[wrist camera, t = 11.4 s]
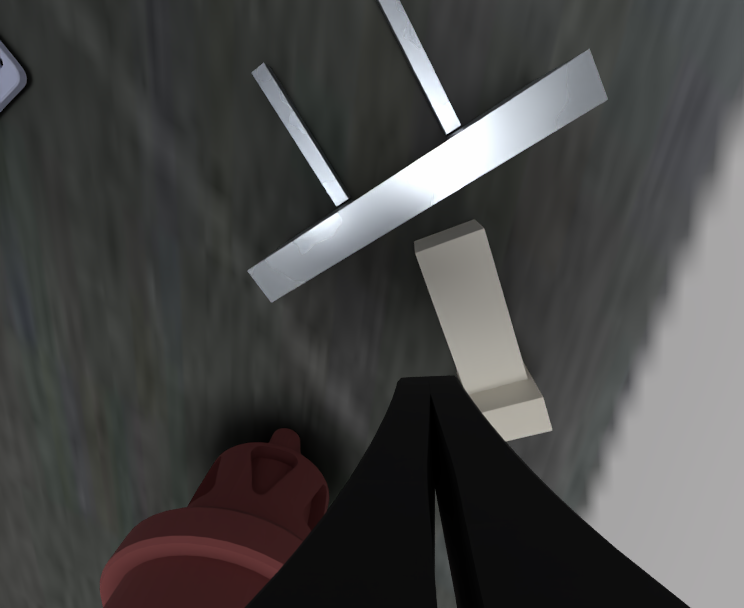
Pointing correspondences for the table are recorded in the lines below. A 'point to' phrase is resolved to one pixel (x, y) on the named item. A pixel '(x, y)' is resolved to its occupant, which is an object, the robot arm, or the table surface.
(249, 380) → the table surface
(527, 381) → the cream l-shaped block
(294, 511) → the mechanical component
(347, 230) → the housing
